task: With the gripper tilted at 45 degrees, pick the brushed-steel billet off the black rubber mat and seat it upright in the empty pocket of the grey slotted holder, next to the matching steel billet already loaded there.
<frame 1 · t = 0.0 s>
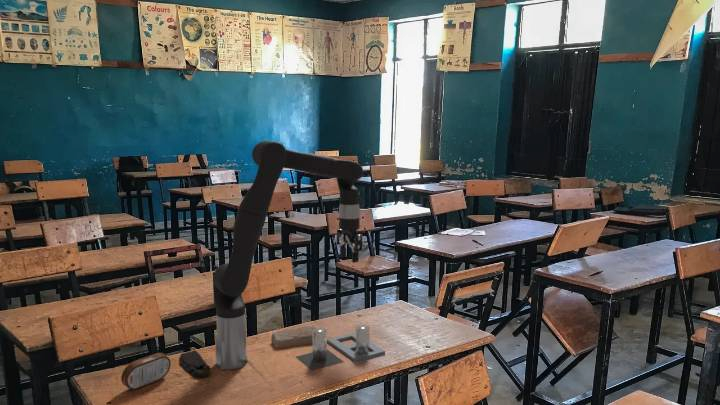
hand: (349, 259, 196), 29 cm above the table, tool pointing down, fingers open, 8 cm apart
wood: (193, 367, 175), on the table
tin: (147, 383, 163), on the table
grey slotted holder: (355, 350, 188), on the table
brick: (295, 344, 193), on the table
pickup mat: (319, 362, 178), on the table
billet: (319, 359, 178), point 1 cm above the table, touching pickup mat
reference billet: (362, 355, 184), resting in grey slotted holder
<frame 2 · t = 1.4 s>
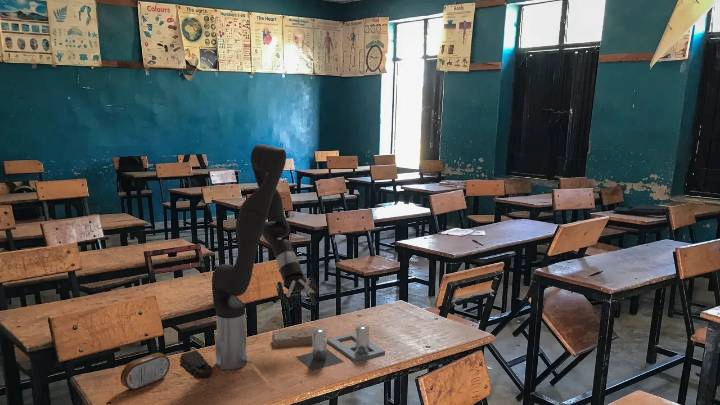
hand: (303, 306, 186), 16 cm above the table, tool tilted 45°, fingers open, 8 cm apart
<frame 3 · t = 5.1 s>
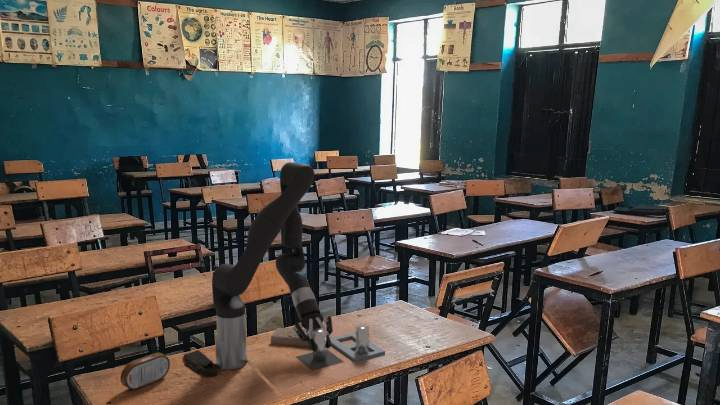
hand: (322, 348, 176), 5 cm above the table, tool tilted 45°, fingers closed on billet, 4 cm apart
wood: (199, 366, 176), on the table
billet: (319, 359, 178), point 1 cm above the table, touching gripper, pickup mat
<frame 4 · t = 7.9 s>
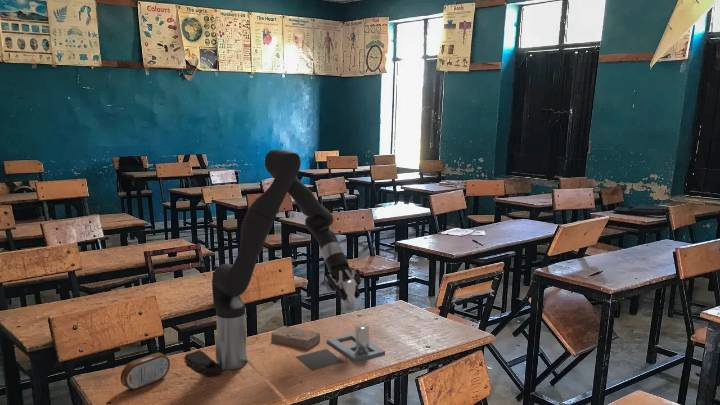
hand: (351, 298, 187), 18 cm above the table, tool tilted 45°, fingers closed on billet, 4 cm apart
billet: (348, 308, 189), point 14 cm above the table, touching gripper
when the fingers open (6 cm above the table, at t = 11.7 s): billet drops 1 cm, resting in grey slotted holder.
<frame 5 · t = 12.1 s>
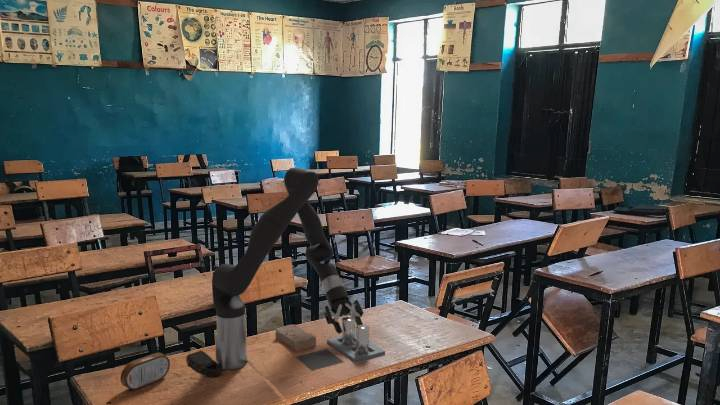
hand: (350, 330, 189), 6 cm above the table, tool tilted 45°, fingers open, 8 cm apart
billet: (348, 346, 191), resting in grey slotted holder
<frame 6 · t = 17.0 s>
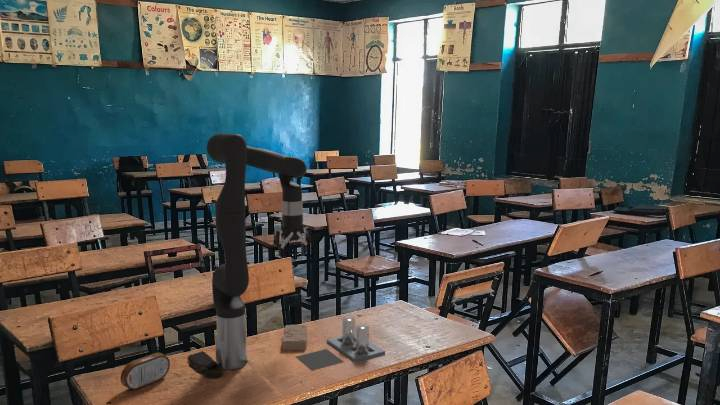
hand: (292, 256, 197), 30 cm above the table, tool pointing down, fingers open, 8 cm apart
at the end: billet 0.1 cm from the target spot on the grey slotted holder, point 0.0 cm above the grey slotted holder's base; billet tilted 2°; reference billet moved 0.0 cm from its start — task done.
